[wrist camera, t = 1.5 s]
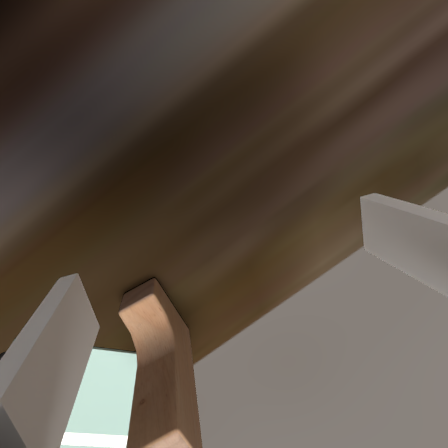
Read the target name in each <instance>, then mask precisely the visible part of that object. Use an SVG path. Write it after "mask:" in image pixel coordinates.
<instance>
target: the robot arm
mask: <svg viewBox="0 0 448 448" xmlns="http://www.w3.org/2000/svg"><path fill="white" fill-rule="evenodd" d="M360 201H361V214H362V227H363V240H364V250H366V251H367V252H369V253H371V254H373V255H374V256H376V257H378V258H379V259H381V260H383V261H385V262H386V263H388V264H390V265H392V266H394V267H395V268H397V269H399V270H400V271H402V272H404V273H406V274H407V275H409V276H411V277H412V278H414V279H416V280H418V281H419V282H421V283H423V284H425V285H426V286H428V287H430V288H432V289H433V290H435V291H437V292H439V293H440V294H442V295H444V296H446V297H447V298H448V213H444V212H441V211H437V210H434V209H430V208H427V207H423V206H420V205H416V204H412V203H409V202H405V201H402V200H398V199H394V198H391V197H387V196H384V195H380V194H376V193H373V194H370V195H366V196H362V197H360ZM98 330H99V324H98V322H97V319H96V317H95V314H94V312H93V309H92V307H91V304H90V302H89V299H88V297H87V295H86V292H85V290H84V287H83V285H82V282H81V280H80V277H79V275H78V273H76V274H73V275H69V276H65V277H61V278H59V279H58V281H57V282H56V283H55V285H54V286H53V288H52V289H51V290H50V292H49V293H48V294H47V296H46V297H45V299H44V300H43V301H42V303H41V304H40V306H39V307H38V308H37V310H36V311H35V312H34V314H33V315H32V317H31V318H30V319H29V321H28V322H27V324H26V325H25V326H24V328H23V329H22V331H21V332H20V333H19V335H18V336H17V337H16V339H15V340H14V342H13V343H12V344H11V346H10V347H9V349H8V350H7V351H6V352H3V353H1V354H0V448H60V446H61V442H62V439H63V436H64V433H65V430H66V427H67V424H68V421H69V418H70V415H71V412H72V409H73V406H74V403H75V400H76V397H77V394H78V391H79V388H80V385H81V382H82V379H83V376H84V373H85V370H86V367H87V364H88V360H89V357H90V354H91V351H92V348H93V345H94V342H95V339H96V336H97V333H98Z"/></svg>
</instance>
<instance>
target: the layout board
mask: <svg viewBox="0 0 448 448" xmlns="http://www.w3.org/2000/svg"><path fill="white" fill-rule="evenodd" d="M15 339H16V338H15ZM136 371H137V354H136V352H133V351H124V350H116V349H107V348H99V347H93V348H92V351H91V354H90V357H89V360H88V364H87V367H86V370H85V373H84V376H83V379H82V382H81V385H80V388H79V391H78V394H77V397H76V400H75V403H74V406H73V409H72V412H71V415H70V418H69V421H68V424H67V427H66V430H65V433H64V436H63V439H62V442H61V446H60V448H126V446H127V438H128V431H129V423H130V416H131V408H132V401H133V393H134V386H135V378H136Z"/></svg>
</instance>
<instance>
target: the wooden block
mask: <svg viewBox="0 0 448 448" xmlns="http://www.w3.org/2000/svg"><path fill="white" fill-rule="evenodd" d="M119 315H120V317H121V318H122V320H123V322H124V323H125V325H126V327H127V328H128V330H129V331H130V333H131V336H132V339H133V342H134V345H135V348H136V354H137V371H136V378H135V386H134V393H133V401H132V408H131V416H130V423H129V431H128V438H127V446H126V448H202V439H201V431H200V422H199V413H198V405H197V395H196V387H195V378H194V369H193V359H192V350H191V342H190V334H189V329H188V327H187V326H186V324H185V323H184V321H183V320H182V318H181V317H180V315H179V313H178V312H177V310H176V309H175V307H174V306H173V304H172V303H171V301H170V300H169V298H168V297H167V295H166V293H165V292H164V290H163V289H162V287H161V286H160V284H159V283H158V281H157V280H156V279H155V278H153V279H151V280H149V281H147V282H145V283H144V284H142V285H140V286H138V287H136V288H134V289H132V290H131V291H129V292H127V293H125V294H124V295H123V298H122V302H121V305H120V309H119Z"/></svg>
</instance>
